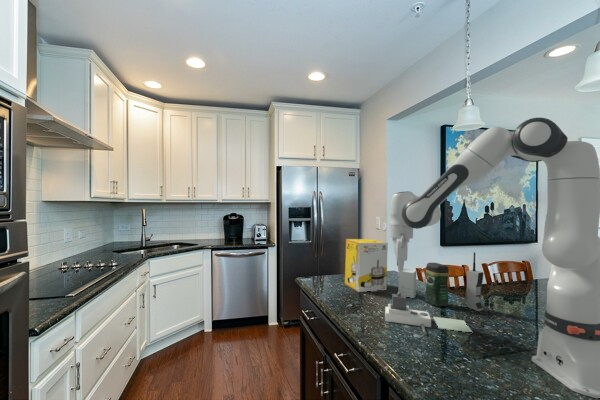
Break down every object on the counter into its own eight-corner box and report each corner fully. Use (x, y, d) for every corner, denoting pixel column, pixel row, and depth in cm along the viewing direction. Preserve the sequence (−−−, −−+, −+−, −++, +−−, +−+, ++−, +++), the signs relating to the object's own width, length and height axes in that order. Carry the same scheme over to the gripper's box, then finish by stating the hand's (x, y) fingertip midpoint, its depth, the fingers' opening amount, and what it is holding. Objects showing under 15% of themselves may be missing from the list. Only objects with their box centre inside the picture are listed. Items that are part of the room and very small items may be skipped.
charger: (406, 314, 110) (406, 295, 110) (392, 312, 112) (392, 293, 112) (405, 310, 114) (405, 292, 114) (391, 308, 115) (392, 290, 116)
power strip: (435, 337, 98) (435, 323, 98) (385, 330, 102) (386, 317, 102) (427, 319, 114) (427, 307, 114) (385, 313, 118) (385, 302, 118)
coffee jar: (451, 307, 129) (452, 265, 130) (436, 308, 127) (437, 265, 128) (436, 300, 139) (437, 261, 139) (422, 300, 137) (423, 261, 137)
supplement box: (416, 295, 145) (417, 270, 145) (413, 299, 139) (414, 272, 139) (401, 292, 149) (401, 268, 149) (397, 296, 143) (398, 270, 143)
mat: (472, 333, 102) (472, 332, 102) (438, 328, 105) (438, 327, 105) (464, 321, 112) (464, 320, 112) (433, 317, 115) (433, 316, 115)
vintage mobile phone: (477, 312, 124) (478, 253, 124) (466, 308, 128) (467, 251, 129) (482, 310, 126) (484, 253, 126) (471, 307, 130) (472, 251, 131)
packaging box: (358, 292, 147) (360, 242, 148) (344, 283, 163) (346, 239, 163) (386, 290, 152) (387, 242, 152) (370, 282, 167) (371, 239, 168)
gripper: (412, 236, 103) (411, 275, 102) (407, 231, 122) (406, 264, 122) (393, 234, 104) (392, 273, 104) (391, 230, 124) (390, 262, 124)
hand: (399, 268), depth 113 cm, fingers open, 8 cm apart
